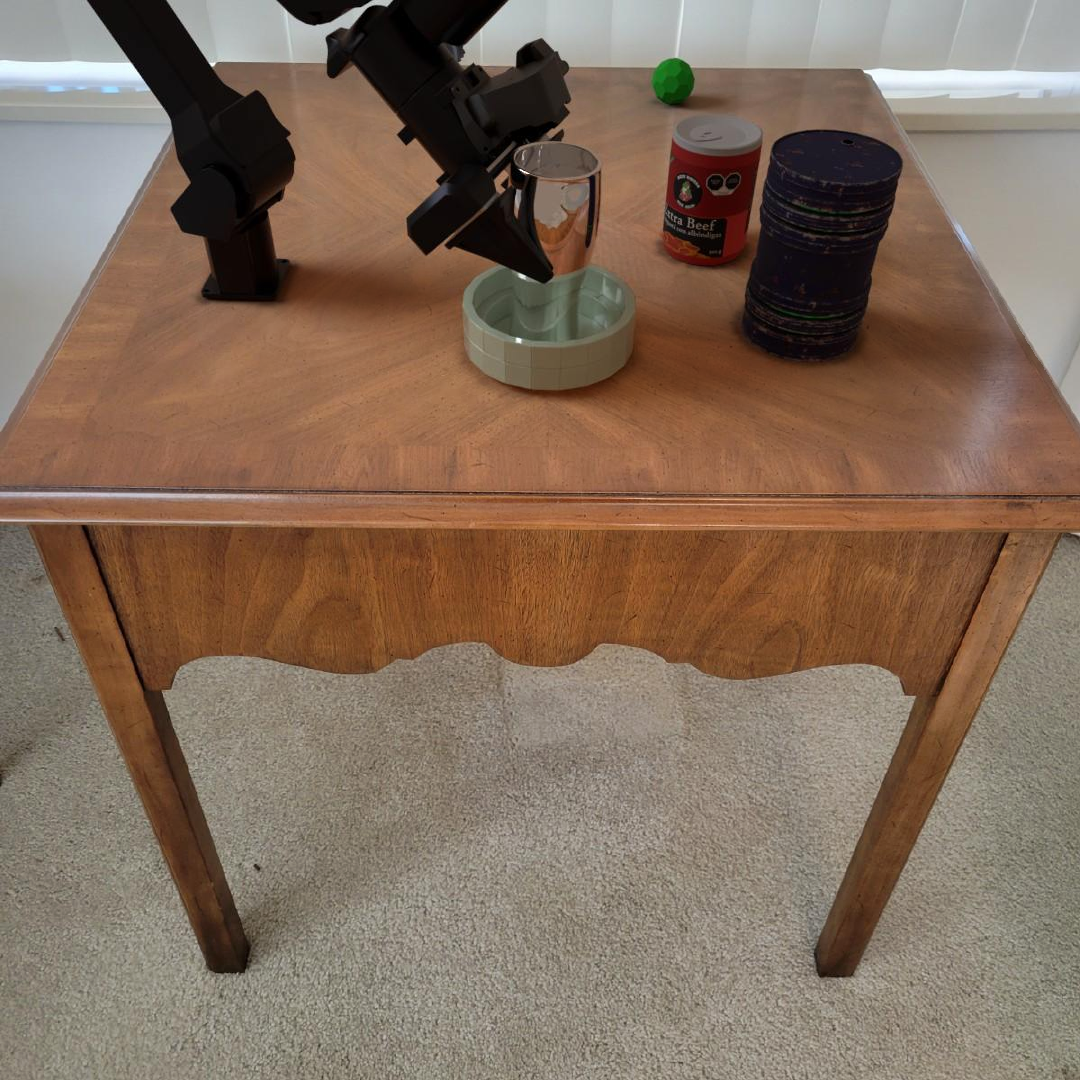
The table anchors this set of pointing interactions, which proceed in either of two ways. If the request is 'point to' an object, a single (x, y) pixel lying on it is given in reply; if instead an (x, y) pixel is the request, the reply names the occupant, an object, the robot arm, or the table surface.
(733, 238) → the canned food
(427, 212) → the robot arm
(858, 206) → the dark blue cylinder
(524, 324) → the beer glass
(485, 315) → the bowl
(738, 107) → the table surface
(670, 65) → the polyhedron
